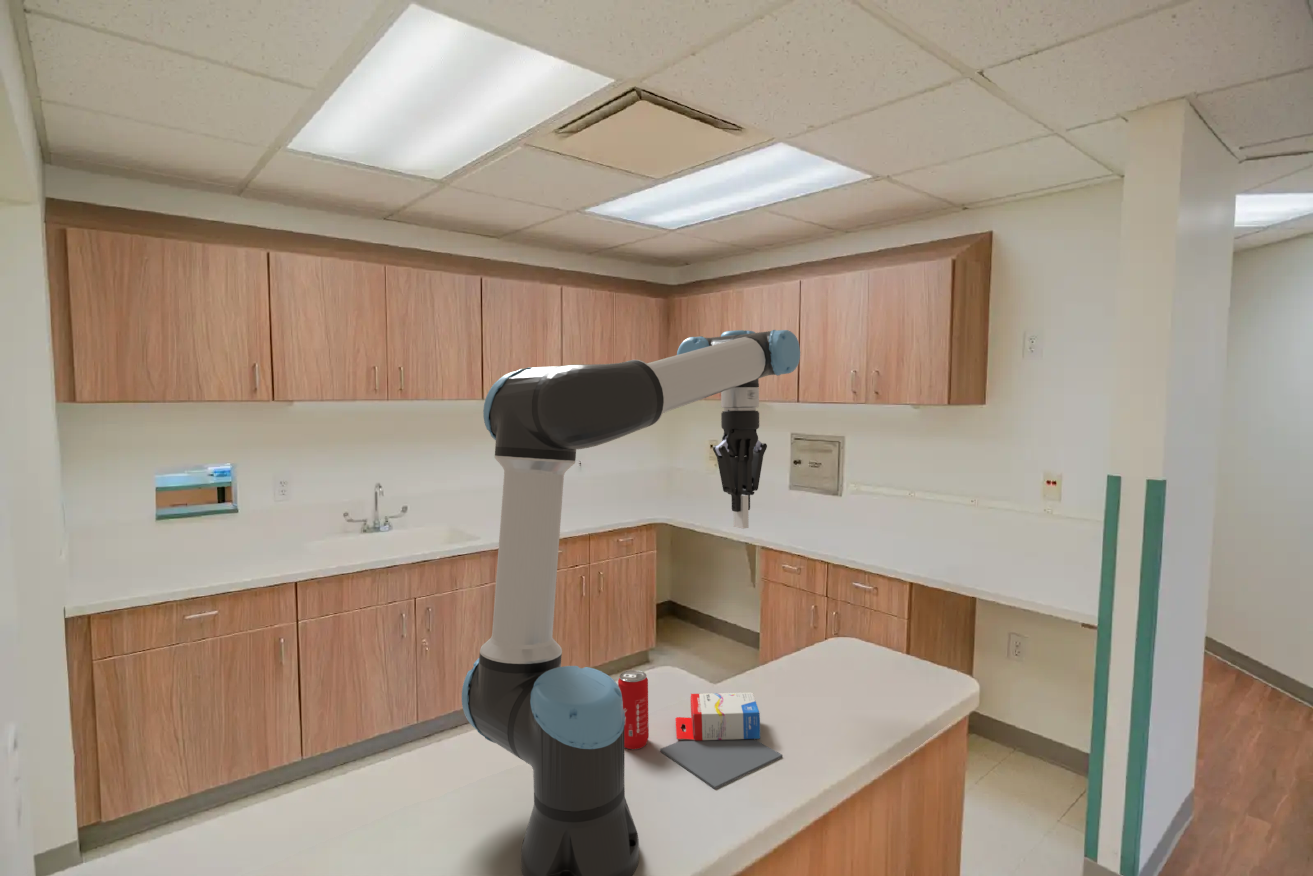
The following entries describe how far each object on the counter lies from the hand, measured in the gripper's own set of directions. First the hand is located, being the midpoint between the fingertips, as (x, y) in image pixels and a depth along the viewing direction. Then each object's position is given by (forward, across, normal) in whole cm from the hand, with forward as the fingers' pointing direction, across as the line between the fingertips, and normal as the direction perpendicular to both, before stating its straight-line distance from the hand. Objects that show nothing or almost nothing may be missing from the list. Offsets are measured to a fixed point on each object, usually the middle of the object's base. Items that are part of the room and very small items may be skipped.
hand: (741, 527), depth 130 cm
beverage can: (+35, -28, -2) cm, 45 cm away
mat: (+34, -18, -14) cm, 41 cm away
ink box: (+32, -8, -12) cm, 35 cm away
